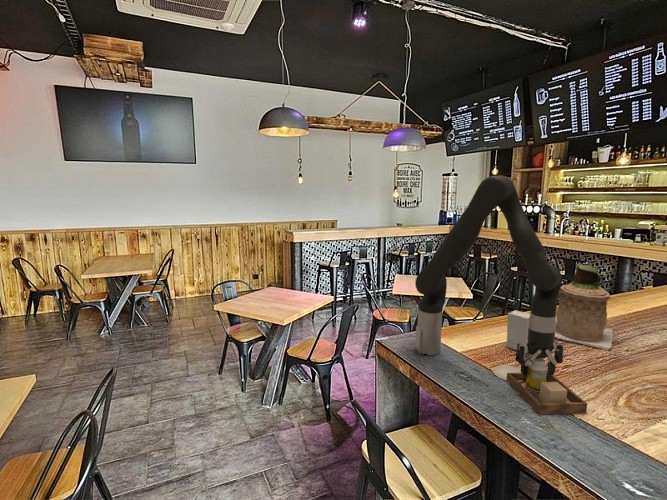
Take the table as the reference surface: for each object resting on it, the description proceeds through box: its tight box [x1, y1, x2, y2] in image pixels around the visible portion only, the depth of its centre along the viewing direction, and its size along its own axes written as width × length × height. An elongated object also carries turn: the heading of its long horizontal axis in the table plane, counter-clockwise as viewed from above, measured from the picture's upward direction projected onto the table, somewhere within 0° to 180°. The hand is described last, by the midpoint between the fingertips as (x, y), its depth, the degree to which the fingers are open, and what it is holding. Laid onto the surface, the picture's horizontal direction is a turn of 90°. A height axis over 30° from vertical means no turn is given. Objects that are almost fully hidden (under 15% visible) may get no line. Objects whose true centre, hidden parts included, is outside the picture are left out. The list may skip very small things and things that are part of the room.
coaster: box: [492, 364, 525, 384], centre depth 133 cm, size 11×11×1 cm
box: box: [538, 381, 567, 403], centre depth 115 cm, size 5×5×6 cm
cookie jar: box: [555, 263, 614, 352], centre depth 163 cm, size 25×25×32 cm
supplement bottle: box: [525, 358, 548, 393], centre depth 123 cm, size 6×6×10 cm
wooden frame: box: [506, 373, 588, 415], centre depth 119 cm, size 15×19×3 cm
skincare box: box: [506, 310, 530, 354], centre depth 152 cm, size 8×6×15 cm
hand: (537, 374), depth 123 cm, fingers open, 8 cm apart
